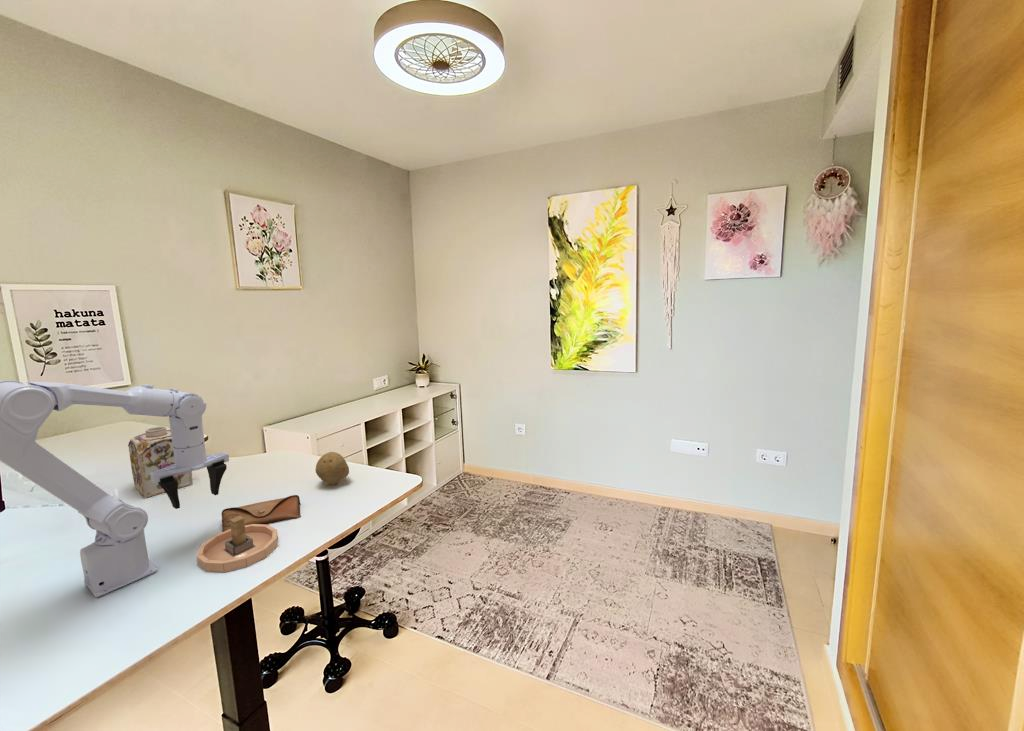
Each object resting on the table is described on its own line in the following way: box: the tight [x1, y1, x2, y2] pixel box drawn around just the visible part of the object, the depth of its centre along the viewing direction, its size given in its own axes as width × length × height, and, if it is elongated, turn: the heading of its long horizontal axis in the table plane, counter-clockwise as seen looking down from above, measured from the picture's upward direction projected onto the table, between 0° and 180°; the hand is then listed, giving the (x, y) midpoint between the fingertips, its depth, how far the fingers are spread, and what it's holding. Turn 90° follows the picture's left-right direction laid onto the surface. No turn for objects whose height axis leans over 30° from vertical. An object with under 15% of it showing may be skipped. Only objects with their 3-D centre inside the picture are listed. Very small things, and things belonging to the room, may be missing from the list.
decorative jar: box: [127, 426, 193, 499], centre depth 125 cm, size 12×12×18 cm
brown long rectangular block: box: [230, 516, 246, 546], centre depth 95 cm, size 2×2×7 cm
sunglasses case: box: [221, 494, 302, 533], centre depth 109 cm, size 18×7×7 cm, turn 121°
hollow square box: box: [223, 535, 255, 557], centre depth 95 cm, size 5×5×2 cm
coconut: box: [315, 451, 350, 486], centre depth 128 cm, size 9×9×10 cm
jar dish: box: [196, 524, 279, 573], centre depth 95 cm, size 15×15×2 cm
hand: (196, 500), depth 98 cm, fingers open, 7 cm apart
